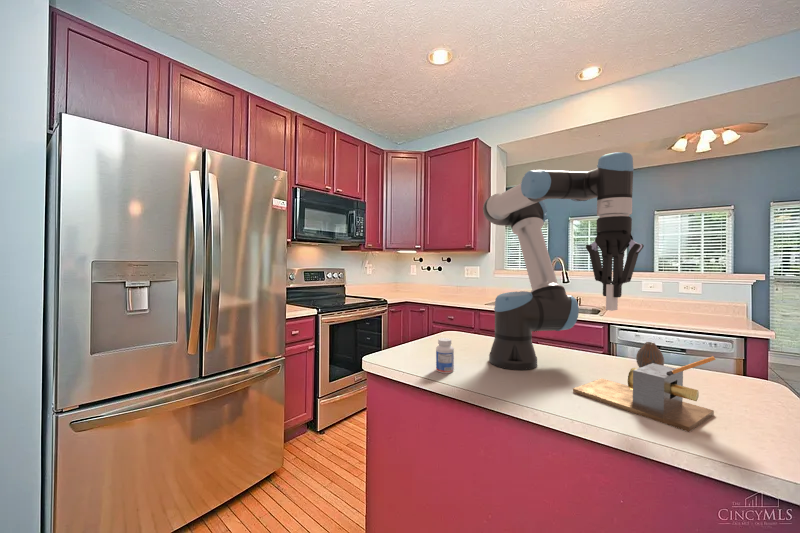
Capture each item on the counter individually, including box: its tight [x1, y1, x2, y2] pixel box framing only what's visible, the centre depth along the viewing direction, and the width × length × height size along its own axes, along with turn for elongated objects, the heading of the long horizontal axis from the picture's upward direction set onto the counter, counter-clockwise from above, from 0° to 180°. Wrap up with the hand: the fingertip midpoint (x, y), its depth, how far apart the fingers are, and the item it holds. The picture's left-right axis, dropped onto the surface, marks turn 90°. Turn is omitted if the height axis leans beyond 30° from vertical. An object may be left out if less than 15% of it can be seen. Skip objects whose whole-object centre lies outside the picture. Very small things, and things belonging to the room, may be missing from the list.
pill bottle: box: [435, 337, 455, 374], centre depth 106 cm, size 6×5×10 cm
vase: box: [635, 341, 665, 368], centre depth 105 cm, size 7×7×9 cm
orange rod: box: [672, 355, 717, 374], centre depth 73 cm, size 8×4×1 cm
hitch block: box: [572, 363, 715, 433], centre depth 82 cm, size 24×14×10 cm, turn 32°
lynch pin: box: [627, 367, 700, 402], centre depth 78 cm, size 12×5×5 cm, turn 32°
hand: (611, 309), depth 87 cm, fingers closed
